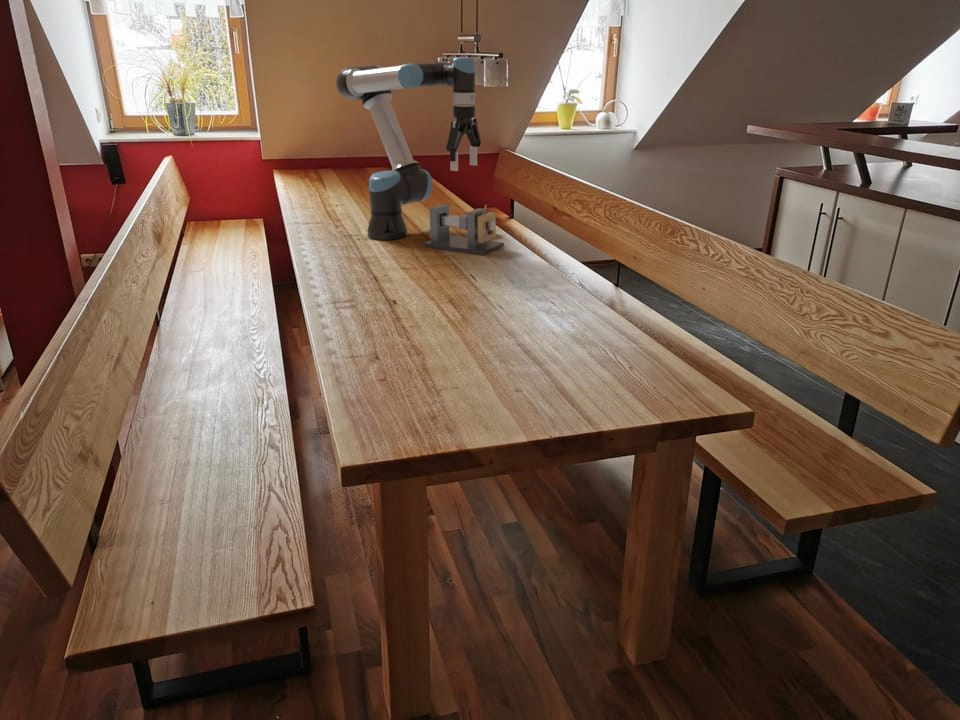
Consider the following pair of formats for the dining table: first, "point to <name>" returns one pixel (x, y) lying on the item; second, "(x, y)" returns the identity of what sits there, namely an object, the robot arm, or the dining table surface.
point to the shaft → (462, 221)
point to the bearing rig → (455, 243)
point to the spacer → (482, 221)
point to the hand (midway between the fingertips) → (464, 168)
